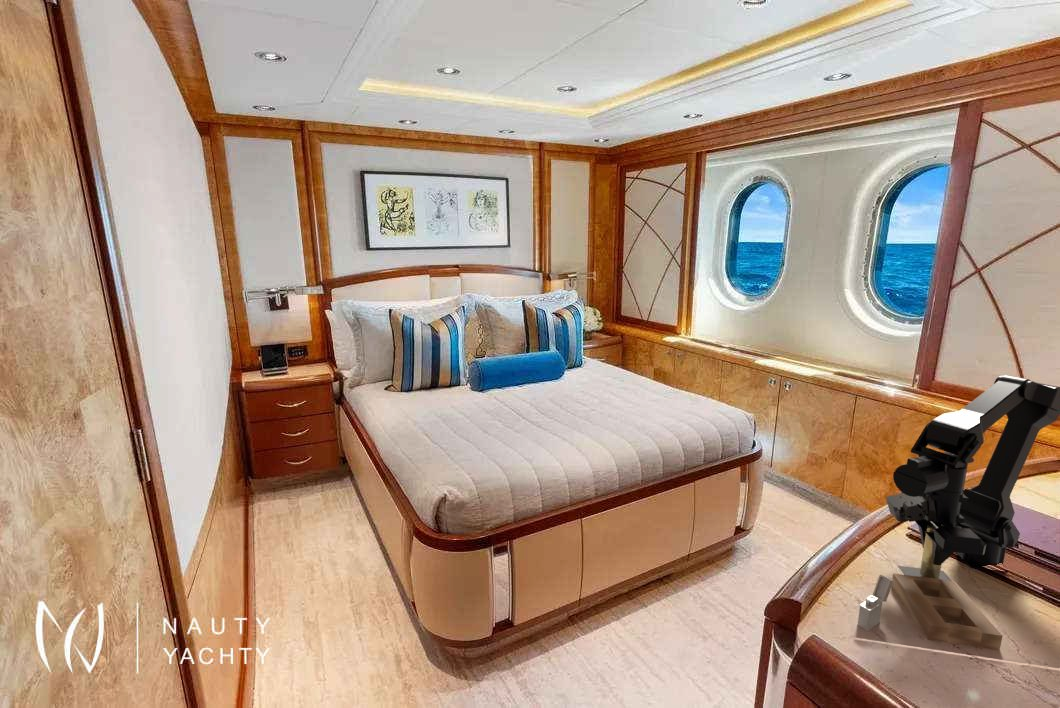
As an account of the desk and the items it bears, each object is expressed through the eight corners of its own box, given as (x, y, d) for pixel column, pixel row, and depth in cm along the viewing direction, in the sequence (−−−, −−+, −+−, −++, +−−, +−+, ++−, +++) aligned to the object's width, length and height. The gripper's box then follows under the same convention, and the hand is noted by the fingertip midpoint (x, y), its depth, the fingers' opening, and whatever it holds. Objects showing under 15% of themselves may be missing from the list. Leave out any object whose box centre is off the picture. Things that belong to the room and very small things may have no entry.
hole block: (951, 595, 94) (954, 580, 94) (999, 651, 81) (1002, 635, 81) (891, 587, 97) (893, 573, 96) (927, 641, 84) (930, 625, 83)
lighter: (867, 632, 86) (873, 591, 84) (856, 626, 87) (861, 585, 86) (888, 617, 89) (894, 577, 88) (877, 611, 91) (883, 571, 89)
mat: (943, 572, 101) (943, 570, 101) (962, 594, 94) (963, 593, 94) (897, 566, 103) (897, 565, 103) (913, 588, 96) (914, 587, 96)
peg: (934, 571, 100) (941, 526, 98) (942, 581, 97) (950, 534, 95) (916, 569, 100) (923, 524, 98) (924, 579, 97) (931, 532, 95)
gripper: (875, 462, 105) (866, 529, 109) (918, 505, 88) (906, 583, 91) (936, 466, 103) (926, 535, 106) (994, 512, 85) (979, 593, 88)
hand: (931, 559), depth 98 cm, fingers closed on peg, 3 cm apart
